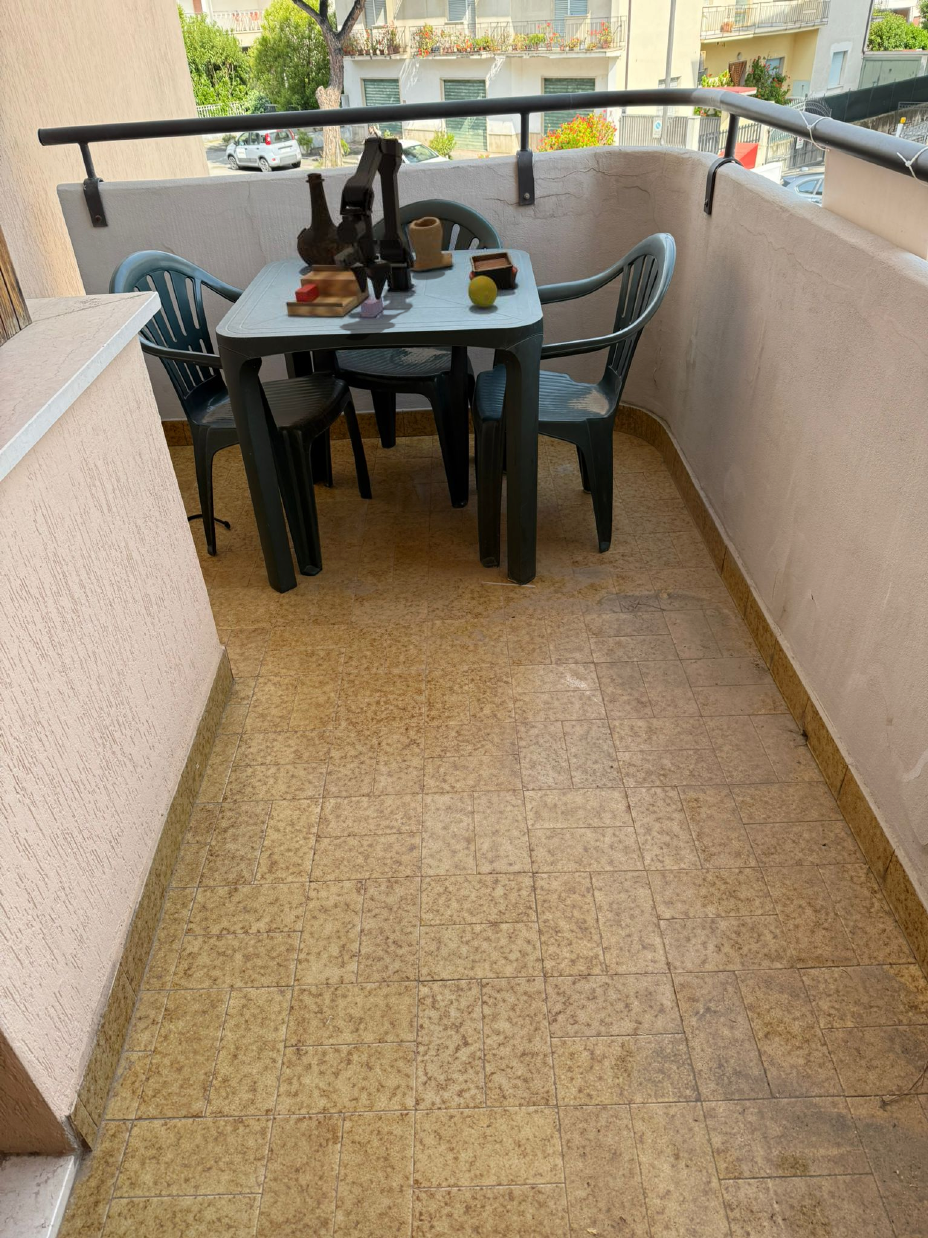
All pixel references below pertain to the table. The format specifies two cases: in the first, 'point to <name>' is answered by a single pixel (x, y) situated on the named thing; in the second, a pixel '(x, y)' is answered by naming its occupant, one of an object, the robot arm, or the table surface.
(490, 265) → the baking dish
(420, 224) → the tan hollow boot-shaped piece
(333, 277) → the pine rack
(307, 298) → the red nougat bar
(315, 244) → the glass bottle
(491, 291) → the lemon
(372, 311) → the lilac nougat bar
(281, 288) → the table surface
